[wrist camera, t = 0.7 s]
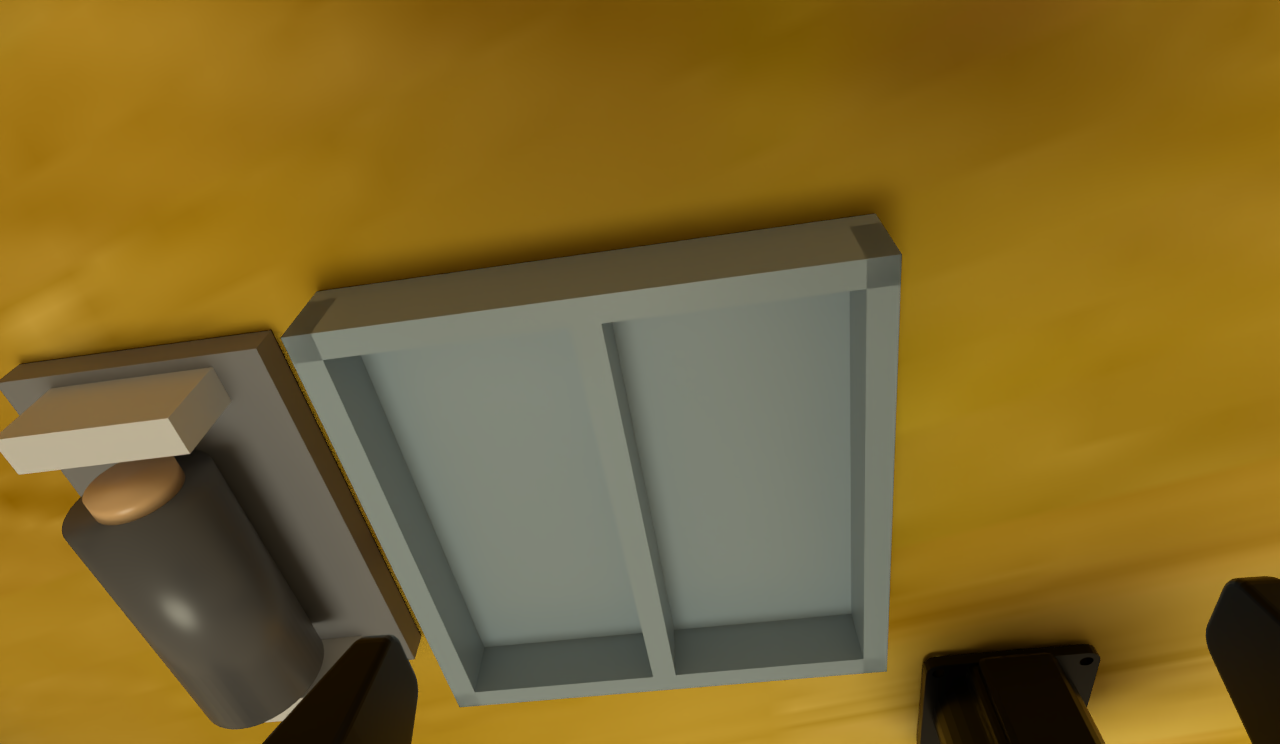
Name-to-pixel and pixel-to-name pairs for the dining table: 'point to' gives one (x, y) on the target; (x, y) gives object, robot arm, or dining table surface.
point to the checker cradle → (219, 462)
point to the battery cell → (197, 585)
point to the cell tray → (628, 457)
